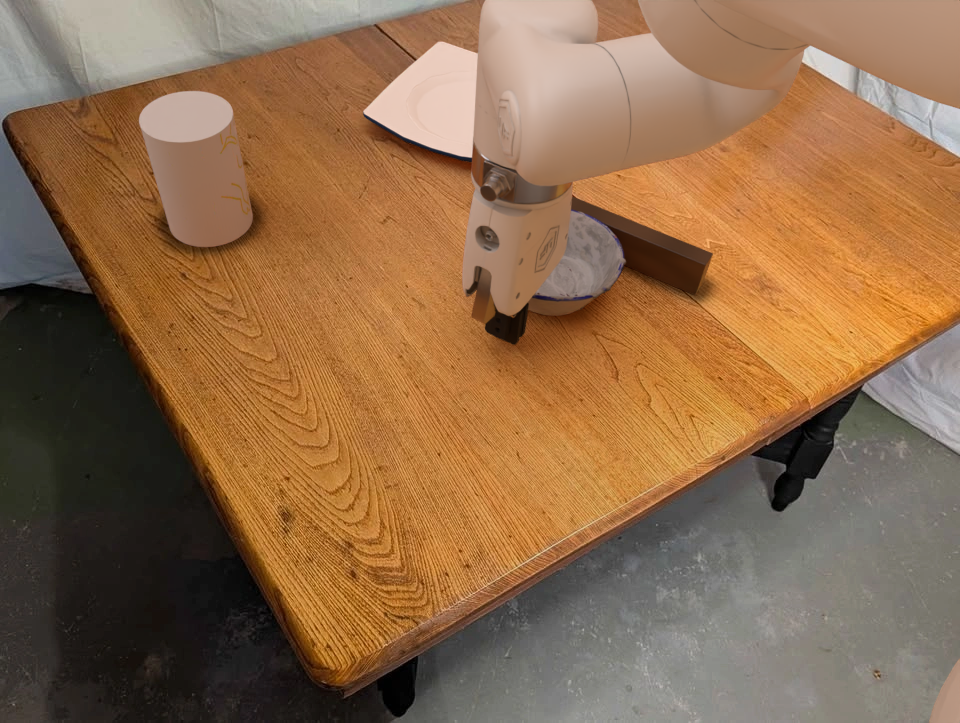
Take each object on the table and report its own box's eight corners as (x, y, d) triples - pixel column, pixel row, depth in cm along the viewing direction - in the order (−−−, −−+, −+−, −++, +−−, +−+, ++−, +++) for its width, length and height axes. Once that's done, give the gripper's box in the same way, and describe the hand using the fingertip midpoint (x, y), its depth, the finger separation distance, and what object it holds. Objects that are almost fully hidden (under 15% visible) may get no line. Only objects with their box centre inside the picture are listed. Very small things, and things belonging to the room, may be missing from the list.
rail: (702, 283, 83) (713, 253, 80) (695, 295, 82) (705, 265, 79) (491, 195, 90) (494, 164, 87) (482, 205, 89) (484, 173, 86)
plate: (584, 100, 103) (587, 80, 101) (514, 191, 91) (517, 170, 89) (436, 55, 108) (436, 35, 106) (351, 135, 96) (349, 114, 94)
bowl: (599, 238, 87) (607, 200, 83) (631, 330, 78) (641, 293, 75) (473, 244, 85) (476, 206, 81) (492, 339, 77) (496, 301, 73)
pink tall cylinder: (256, 240, 84) (236, 136, 75) (170, 252, 82) (139, 147, 73) (248, 190, 89) (229, 87, 80) (167, 200, 87) (138, 95, 78)
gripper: (519, 237, 56) (499, 407, 70) (613, 129, 65) (579, 300, 79) (423, 197, 58) (422, 369, 72) (527, 98, 67) (508, 269, 81)
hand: (504, 333), depth 75 cm, fingers closed
